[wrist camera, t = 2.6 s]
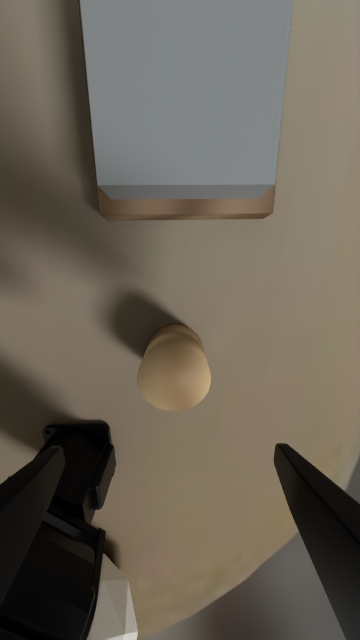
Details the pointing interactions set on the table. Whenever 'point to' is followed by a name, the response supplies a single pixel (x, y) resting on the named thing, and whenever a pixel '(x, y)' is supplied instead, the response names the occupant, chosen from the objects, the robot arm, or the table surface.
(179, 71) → the tower top block
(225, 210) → the tower base block
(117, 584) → the geodesic sphere
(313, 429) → the table surface
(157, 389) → the tan rounded piece
